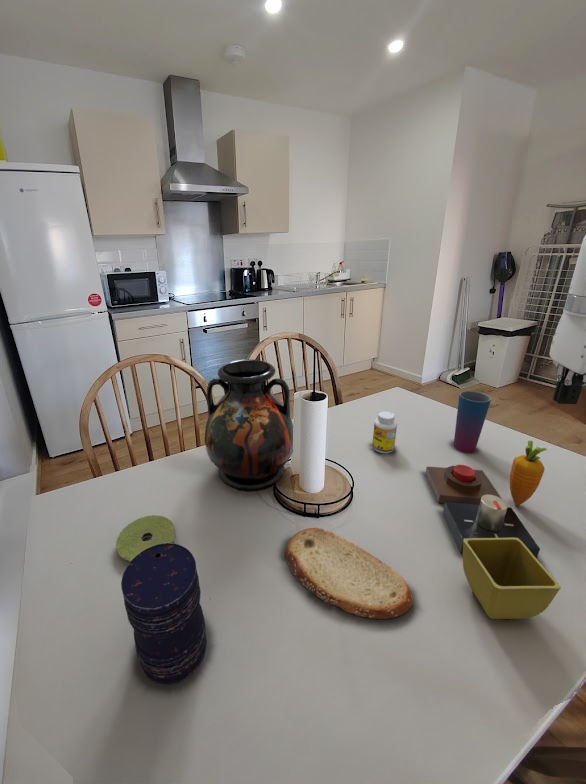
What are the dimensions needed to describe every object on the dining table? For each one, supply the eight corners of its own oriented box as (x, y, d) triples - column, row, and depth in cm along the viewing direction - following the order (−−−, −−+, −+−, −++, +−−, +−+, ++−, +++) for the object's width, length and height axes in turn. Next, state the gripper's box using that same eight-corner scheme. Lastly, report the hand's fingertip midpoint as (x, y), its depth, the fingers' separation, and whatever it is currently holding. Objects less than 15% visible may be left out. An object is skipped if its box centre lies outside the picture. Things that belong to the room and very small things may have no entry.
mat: (138, 580, 62) (136, 572, 62) (107, 546, 70) (105, 539, 69) (188, 540, 70) (187, 533, 69) (155, 514, 77) (154, 507, 76)
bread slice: (422, 612, 55) (425, 595, 53) (310, 636, 52) (311, 619, 51) (366, 525, 71) (368, 510, 70) (279, 540, 69) (279, 525, 67)
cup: (485, 454, 91) (497, 401, 86) (458, 454, 91) (469, 402, 86) (470, 439, 97) (480, 389, 92) (444, 440, 98) (454, 390, 92)
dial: (472, 514, 69) (477, 492, 67) (495, 516, 68) (501, 494, 66) (481, 530, 65) (487, 507, 63) (505, 532, 64) (512, 509, 62)
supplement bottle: (368, 444, 98) (371, 411, 94) (386, 441, 99) (390, 408, 95) (378, 455, 93) (382, 421, 89) (398, 452, 94) (402, 418, 90)
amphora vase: (199, 500, 80) (185, 387, 70) (217, 447, 100) (208, 352, 90) (295, 504, 78) (296, 387, 67) (294, 449, 97) (294, 352, 87)
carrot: (505, 493, 78) (521, 434, 72) (533, 504, 74) (553, 443, 69) (499, 505, 75) (516, 444, 69) (528, 517, 71) (549, 454, 66)
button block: (480, 477, 83) (484, 463, 81) (500, 508, 74) (505, 493, 72) (425, 473, 85) (427, 459, 84) (438, 503, 76) (441, 488, 74)
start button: (469, 471, 80) (471, 465, 79) (476, 483, 76) (478, 476, 75) (450, 470, 80) (451, 464, 80) (456, 481, 77) (457, 475, 76)
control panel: (507, 519, 71) (511, 506, 70) (535, 561, 62) (540, 548, 61) (442, 513, 73) (445, 501, 72) (460, 553, 64) (463, 540, 63)
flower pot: (452, 577, 60) (462, 537, 57) (506, 577, 59) (518, 536, 56) (483, 632, 52) (496, 588, 48) (545, 632, 51) (563, 588, 48)
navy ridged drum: (213, 671, 49) (203, 595, 43) (139, 698, 46) (118, 621, 41) (200, 604, 58) (191, 534, 52) (138, 624, 55) (121, 553, 50)
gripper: (658, 314, 53) (618, 422, 60) (589, 297, 67) (562, 386, 73) (600, 315, 54) (566, 420, 61) (543, 298, 68) (521, 386, 75)
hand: (564, 402), depth 67 cm, fingers closed
